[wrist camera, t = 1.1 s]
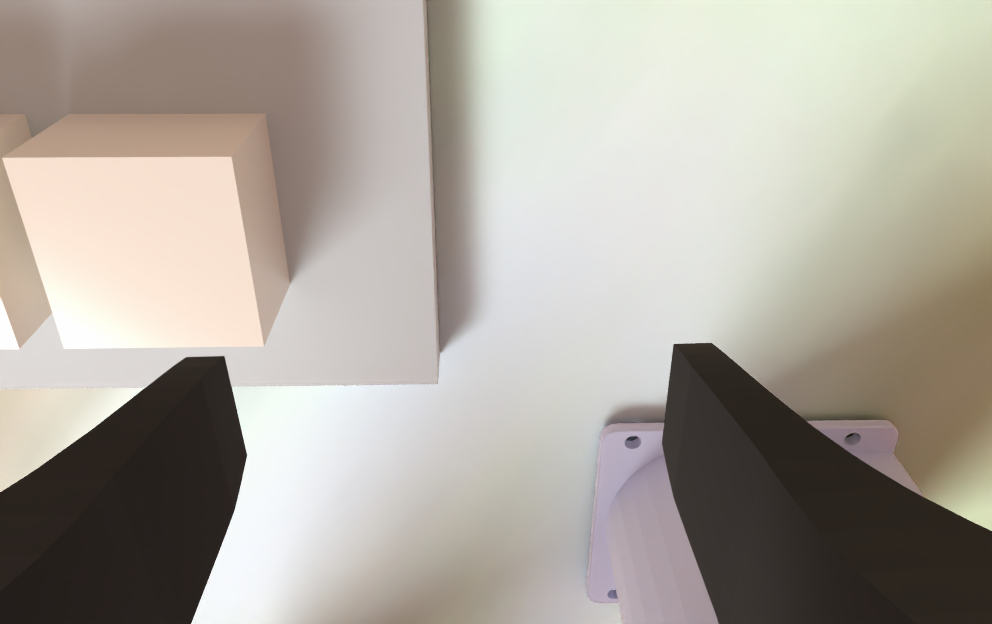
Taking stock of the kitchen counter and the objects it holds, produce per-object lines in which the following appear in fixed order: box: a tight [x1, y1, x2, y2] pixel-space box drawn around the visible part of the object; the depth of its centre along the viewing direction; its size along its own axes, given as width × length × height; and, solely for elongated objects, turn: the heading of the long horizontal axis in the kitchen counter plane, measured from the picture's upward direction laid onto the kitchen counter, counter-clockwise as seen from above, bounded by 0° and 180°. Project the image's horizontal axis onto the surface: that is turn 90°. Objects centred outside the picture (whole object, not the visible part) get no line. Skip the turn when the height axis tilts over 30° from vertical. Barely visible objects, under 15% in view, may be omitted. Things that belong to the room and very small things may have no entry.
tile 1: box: [2, 113, 290, 349], centre depth 18 cm, size 4×4×3 cm
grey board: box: [0, 0, 440, 389], centre depth 20 cm, size 16×11×2 cm
